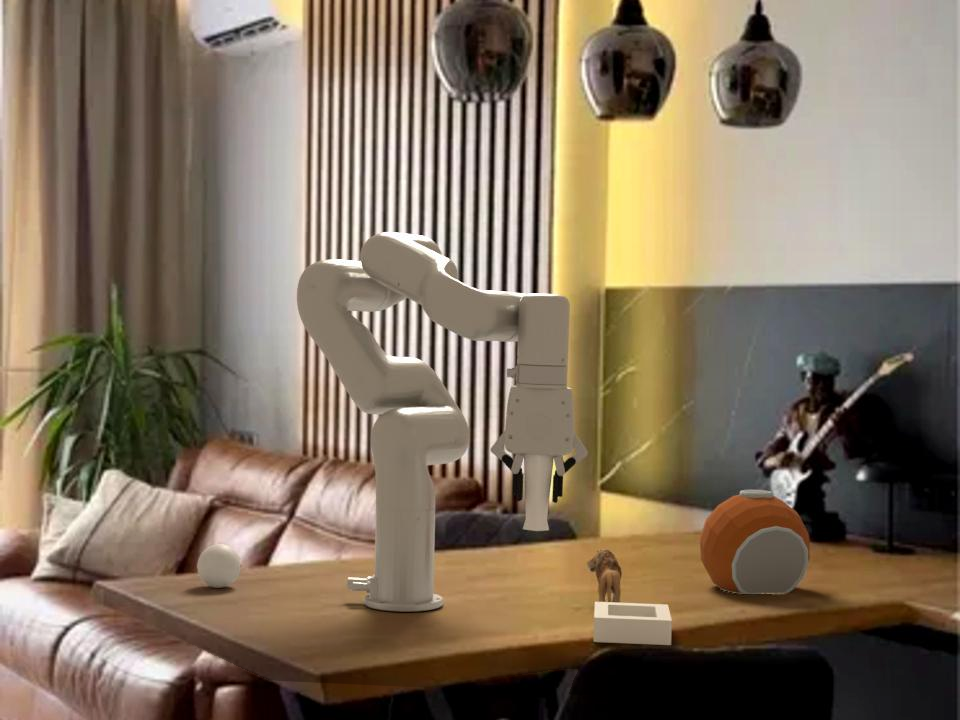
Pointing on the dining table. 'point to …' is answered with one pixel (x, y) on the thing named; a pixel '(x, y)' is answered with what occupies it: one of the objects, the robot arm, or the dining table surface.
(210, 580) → the off-white rounded piece
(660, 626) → the white rectangular box
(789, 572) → the alarm clock
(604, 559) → the lion figurine
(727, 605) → the dining table surface
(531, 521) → the perfume bottle
